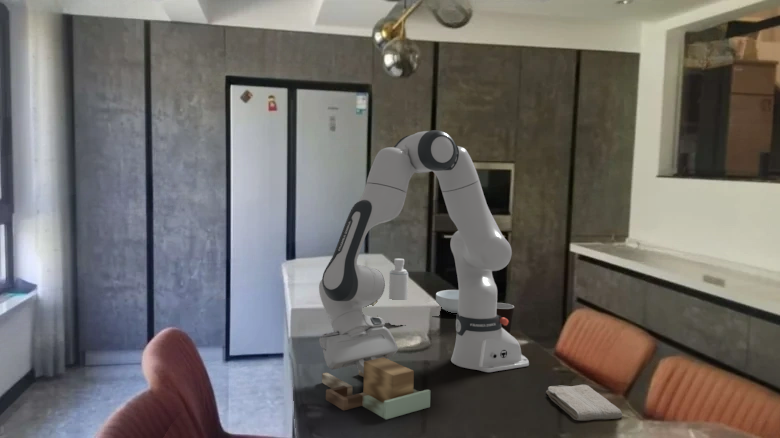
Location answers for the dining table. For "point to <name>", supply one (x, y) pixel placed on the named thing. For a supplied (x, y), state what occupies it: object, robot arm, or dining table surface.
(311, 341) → the dining table surface
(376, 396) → the block
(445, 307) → the cereal bowl
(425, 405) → the end wall
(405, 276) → the white bottle
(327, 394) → the lane
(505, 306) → the coffee mug
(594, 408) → the washcloth
